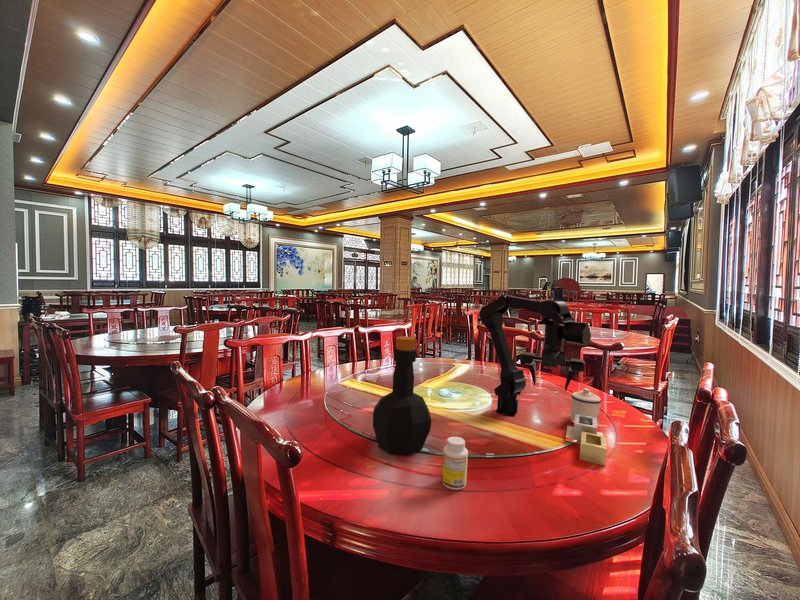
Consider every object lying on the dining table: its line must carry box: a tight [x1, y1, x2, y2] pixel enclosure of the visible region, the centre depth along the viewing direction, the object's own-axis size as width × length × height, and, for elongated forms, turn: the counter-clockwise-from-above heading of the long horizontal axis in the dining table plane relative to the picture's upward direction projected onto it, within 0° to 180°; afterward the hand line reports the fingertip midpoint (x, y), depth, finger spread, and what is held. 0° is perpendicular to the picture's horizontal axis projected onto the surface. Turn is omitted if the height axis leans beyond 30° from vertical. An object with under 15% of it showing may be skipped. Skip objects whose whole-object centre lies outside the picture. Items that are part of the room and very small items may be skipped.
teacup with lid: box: [569, 387, 602, 427], centre depth 125 cm, size 12×9×12 cm
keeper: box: [565, 421, 604, 445], centre depth 110 cm, size 10×10×5 cm
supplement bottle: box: [441, 436, 469, 491], centre depth 82 cm, size 6×6×10 cm
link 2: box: [579, 431, 608, 466], centre depth 100 cm, size 9×6×4 cm, turn 152°
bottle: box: [372, 335, 432, 456], centre depth 99 cm, size 16×16×30 cm
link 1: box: [573, 414, 598, 440], centre depth 110 cm, size 9×6×4 cm, turn 153°
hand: (549, 387), depth 117 cm, fingers open, 9 cm apart
